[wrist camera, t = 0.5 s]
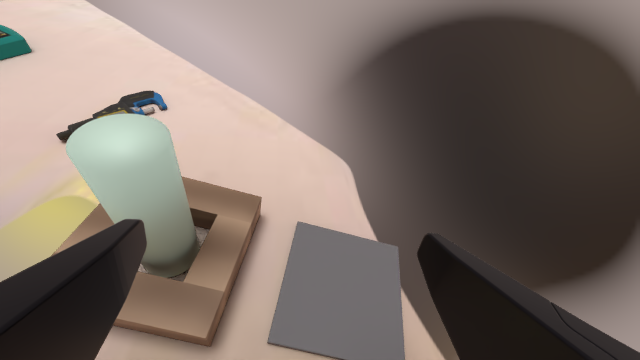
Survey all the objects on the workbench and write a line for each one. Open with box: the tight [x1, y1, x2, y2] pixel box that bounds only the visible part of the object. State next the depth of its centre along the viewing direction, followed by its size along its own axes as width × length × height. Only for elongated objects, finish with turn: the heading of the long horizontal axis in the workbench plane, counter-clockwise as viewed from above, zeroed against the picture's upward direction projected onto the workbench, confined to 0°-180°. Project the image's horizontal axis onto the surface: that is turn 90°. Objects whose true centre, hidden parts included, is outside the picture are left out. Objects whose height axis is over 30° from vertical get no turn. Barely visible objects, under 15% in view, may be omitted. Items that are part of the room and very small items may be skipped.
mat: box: [267, 221, 405, 360], centre depth 24 cm, size 11×11×1 cm
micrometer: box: [56, 91, 167, 140], centre depth 31 cm, size 12×2×5 cm
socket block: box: [51, 176, 262, 347], centre depth 22 cm, size 12×12×3 cm
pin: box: [66, 114, 200, 278], centre depth 18 cm, size 4×4×13 cm
